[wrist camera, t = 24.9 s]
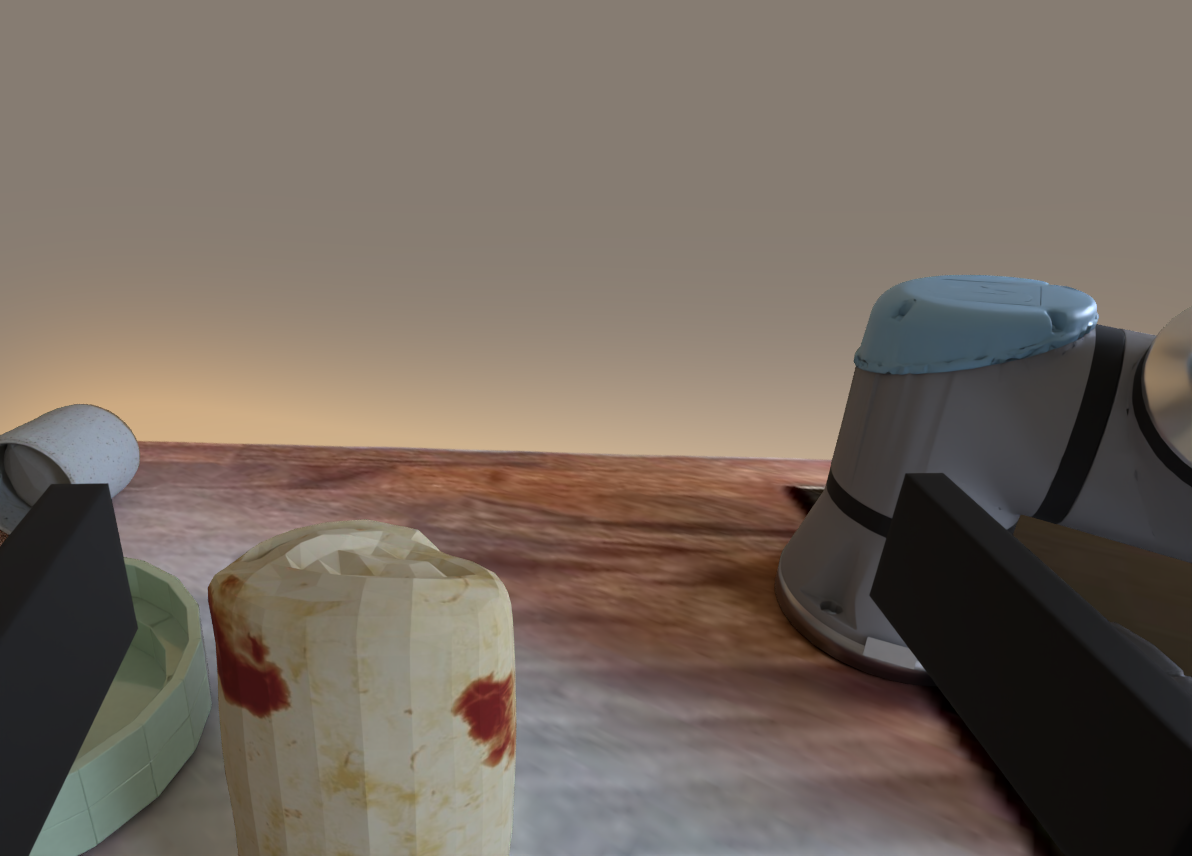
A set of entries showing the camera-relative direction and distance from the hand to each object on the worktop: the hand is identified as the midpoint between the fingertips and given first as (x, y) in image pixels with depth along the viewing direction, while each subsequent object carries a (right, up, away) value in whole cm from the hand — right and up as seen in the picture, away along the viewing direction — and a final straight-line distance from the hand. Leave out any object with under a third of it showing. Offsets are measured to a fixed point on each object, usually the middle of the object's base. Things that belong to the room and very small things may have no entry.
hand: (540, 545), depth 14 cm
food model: (-8, -20, +19) cm, 28 cm away
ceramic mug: (-38, -4, +44) cm, 58 cm away
